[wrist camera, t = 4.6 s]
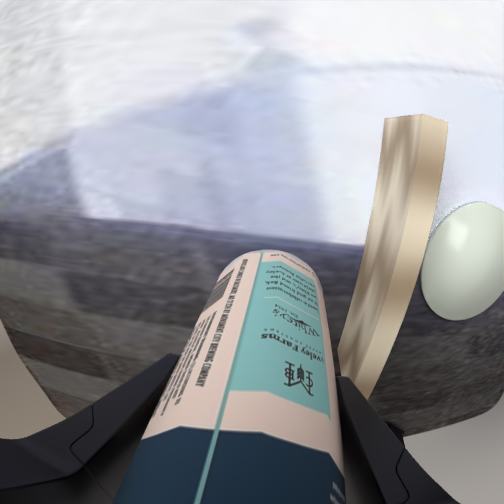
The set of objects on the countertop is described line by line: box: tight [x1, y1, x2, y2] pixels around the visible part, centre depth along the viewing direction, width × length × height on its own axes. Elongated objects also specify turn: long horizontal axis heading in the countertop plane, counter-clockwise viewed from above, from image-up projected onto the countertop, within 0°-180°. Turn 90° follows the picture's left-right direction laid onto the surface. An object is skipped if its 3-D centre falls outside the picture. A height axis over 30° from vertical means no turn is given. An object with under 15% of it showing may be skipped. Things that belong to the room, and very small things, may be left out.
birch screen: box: [337, 114, 448, 400], centre depth 17 cm, size 18×2×6 cm, turn 175°
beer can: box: [112, 249, 346, 504], centre depth 8 cm, size 5×5×12 cm
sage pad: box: [420, 202, 504, 320], centre depth 19 cm, size 10×10×1 cm
